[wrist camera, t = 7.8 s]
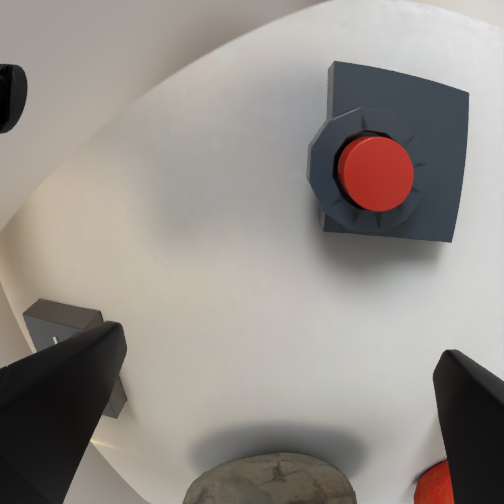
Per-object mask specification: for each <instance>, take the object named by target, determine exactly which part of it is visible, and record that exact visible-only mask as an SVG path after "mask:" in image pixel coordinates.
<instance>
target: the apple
mask: <svg viewBox="0 0 504 504" xmlns="http://www.w3.org/2000/svg"><path fill="white" fill-rule="evenodd" d="M414 504H454V498H453V490H452V484H451V477H450V471H449V466H448V460H447V461H444V462H442V463H439V464H438V465H436V466H434V467H432V468H431V469H430V470H429V471H427V472H426V473H424V474H423V476H422V477H421V478H420V479H419V481H418V484H417V487H416V491H415V494H414Z"/></svg>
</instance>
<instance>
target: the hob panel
mask: <svg viewBox="0 0 504 504" xmlns="http://www.w3.org/2000/svg"><path fill="white" fill-rule="evenodd" d="M23 317H24V320H25V323H26V325H27V328H28V331H29V333H30V336H31V338H32V341H33V343H34V346H35V348H36V351H37V352H39V351H41V350H43V349H45V348H48V347H50V346H52V345H54V344H57V343H59V342H61V341H63V340H66V339H68V338H70V337H72V336H74V335H77V334H79V333H81V332H83V331H86V330H88V329H90V328H92V327H94V326H97V325H99V324H101V323H103V321H102V317H101V313H100V311H96V310H90V309H85V308H80V307H75V306H70V305H65V304H60V303H55V302H51V301H46V300H42V299H39V300H38V301H36V302H35V303H34V304H33V305H32V306H31V307H29V308H28V309H27V310H26V311H25V312H24V313H23ZM126 401H127V399H126V396H125V394H124V391H123V388H122V385H121V382H120V379H119V376H118V377H117V380H116V383H115V386H114V389H113V391H112V394H111V397H110V399H109V401H108V403H107V405H106V407H105V409H104V411H103V413H102V415H106V416H109V417H112V418H116V419H117V418H118V416H119V414H120V412H121V410H122V408H123V406H124V404H125V402H126Z"/></svg>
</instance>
